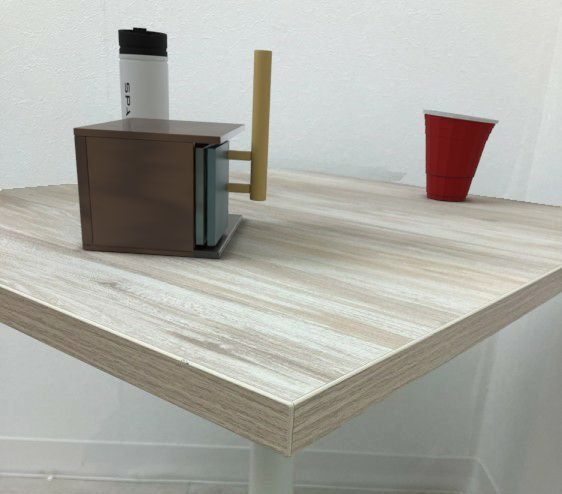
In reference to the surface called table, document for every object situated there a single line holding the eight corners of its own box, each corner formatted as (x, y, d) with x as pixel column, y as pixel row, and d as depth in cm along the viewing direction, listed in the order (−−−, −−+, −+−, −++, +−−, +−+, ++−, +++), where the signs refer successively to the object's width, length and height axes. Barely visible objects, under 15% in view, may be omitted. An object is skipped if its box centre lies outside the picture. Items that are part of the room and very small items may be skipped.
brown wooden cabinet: (242, 219, 73) (245, 124, 69) (219, 258, 57) (220, 136, 53) (136, 212, 74) (132, 117, 70) (82, 249, 57) (72, 127, 53)
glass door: (265, 229, 65) (273, 51, 58) (257, 248, 57) (265, 46, 50) (221, 226, 65) (223, 48, 58) (207, 245, 57) (207, 43, 50)
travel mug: (166, 184, 94) (162, 29, 86) (174, 191, 89) (171, 27, 80) (122, 184, 92) (114, 26, 84) (127, 191, 87) (119, 23, 78)
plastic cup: (493, 206, 91) (510, 115, 86) (417, 202, 91) (430, 110, 86) (474, 194, 101) (488, 112, 96) (405, 190, 101) (416, 108, 96)
